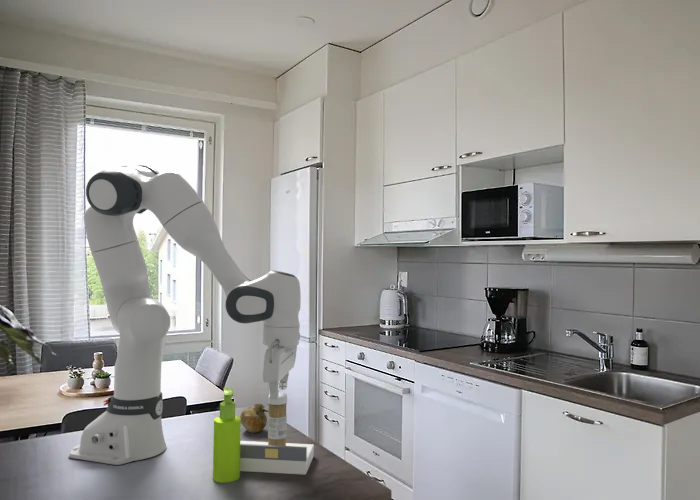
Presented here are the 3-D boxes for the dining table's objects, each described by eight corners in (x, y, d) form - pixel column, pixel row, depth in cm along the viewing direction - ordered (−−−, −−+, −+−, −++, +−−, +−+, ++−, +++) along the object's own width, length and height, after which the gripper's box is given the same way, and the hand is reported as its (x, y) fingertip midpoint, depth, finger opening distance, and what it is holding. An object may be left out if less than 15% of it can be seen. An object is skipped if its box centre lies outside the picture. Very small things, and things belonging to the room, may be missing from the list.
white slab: (220, 470, 122) (220, 444, 122) (235, 452, 133) (236, 428, 133) (305, 475, 120) (305, 448, 120) (313, 456, 131) (314, 432, 131)
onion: (257, 424, 155) (257, 397, 155) (272, 431, 149) (273, 403, 150) (234, 430, 150) (235, 402, 150) (250, 437, 144) (250, 408, 144)
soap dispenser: (213, 486, 114) (215, 393, 114) (212, 473, 120) (214, 385, 121) (241, 483, 115) (242, 391, 116) (238, 470, 122) (240, 384, 122)
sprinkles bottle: (281, 445, 130) (282, 391, 130) (289, 451, 126) (290, 395, 126) (264, 448, 128) (265, 393, 128) (271, 455, 124) (272, 397, 124)
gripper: (284, 344, 119) (282, 405, 118) (301, 332, 139) (299, 385, 139) (257, 342, 119) (254, 404, 119) (277, 331, 140) (275, 383, 139)
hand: (278, 393), depth 129 cm, fingers open, 8 cm apart
